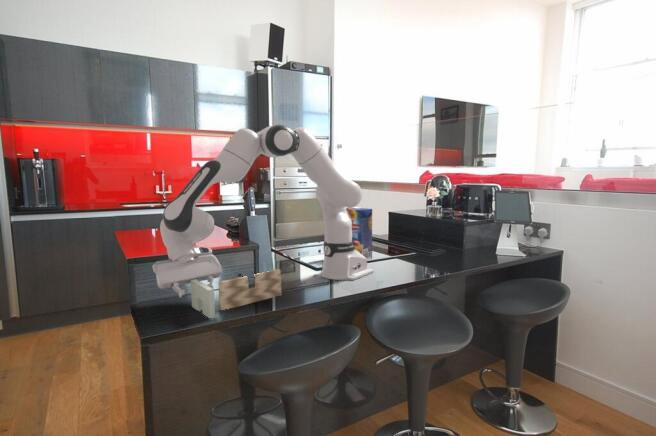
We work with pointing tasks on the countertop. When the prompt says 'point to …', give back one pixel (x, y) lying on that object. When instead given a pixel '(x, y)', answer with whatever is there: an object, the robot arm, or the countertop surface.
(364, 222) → the juice carton
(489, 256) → the countertop surface
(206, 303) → the sage plate
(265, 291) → the brown zigzag slotted board
